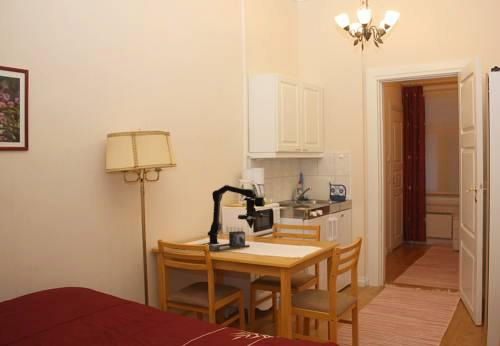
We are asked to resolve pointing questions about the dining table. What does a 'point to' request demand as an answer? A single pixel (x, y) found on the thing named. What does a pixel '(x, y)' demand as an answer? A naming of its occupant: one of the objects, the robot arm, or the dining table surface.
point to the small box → (236, 238)
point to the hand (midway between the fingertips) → (250, 228)
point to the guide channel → (217, 248)
